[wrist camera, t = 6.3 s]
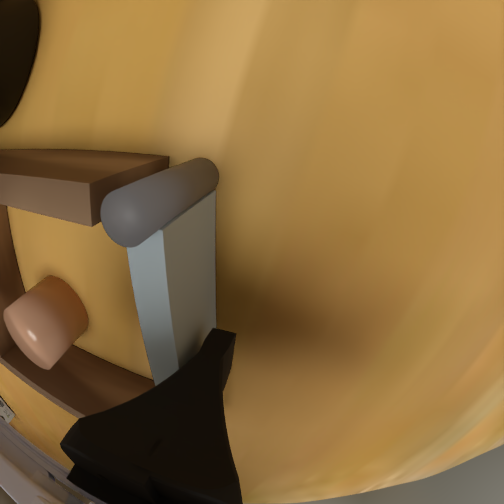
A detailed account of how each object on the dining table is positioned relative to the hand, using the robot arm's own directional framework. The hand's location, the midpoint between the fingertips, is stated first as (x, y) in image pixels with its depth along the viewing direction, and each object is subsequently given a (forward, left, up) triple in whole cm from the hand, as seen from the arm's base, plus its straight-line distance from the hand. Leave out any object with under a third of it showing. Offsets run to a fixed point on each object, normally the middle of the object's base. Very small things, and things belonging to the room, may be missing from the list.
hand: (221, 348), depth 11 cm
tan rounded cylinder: (-3, +11, -2) cm, 12 cm away
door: (0, +1, -2) cm, 2 cm away
